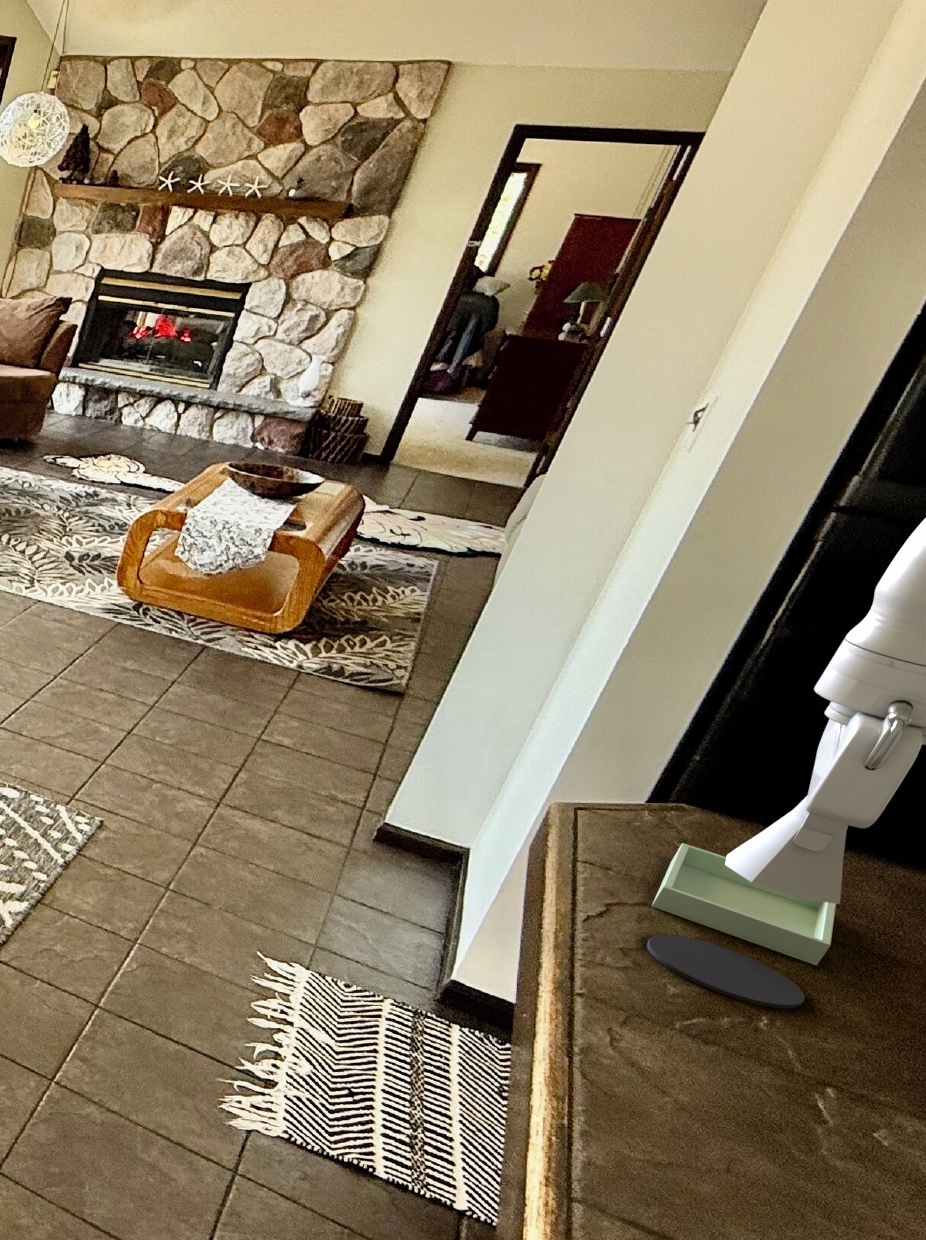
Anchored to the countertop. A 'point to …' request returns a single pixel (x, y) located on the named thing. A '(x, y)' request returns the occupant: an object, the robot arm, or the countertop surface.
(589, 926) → the countertop surface
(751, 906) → the tray
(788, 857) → the flask
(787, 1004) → the mat
